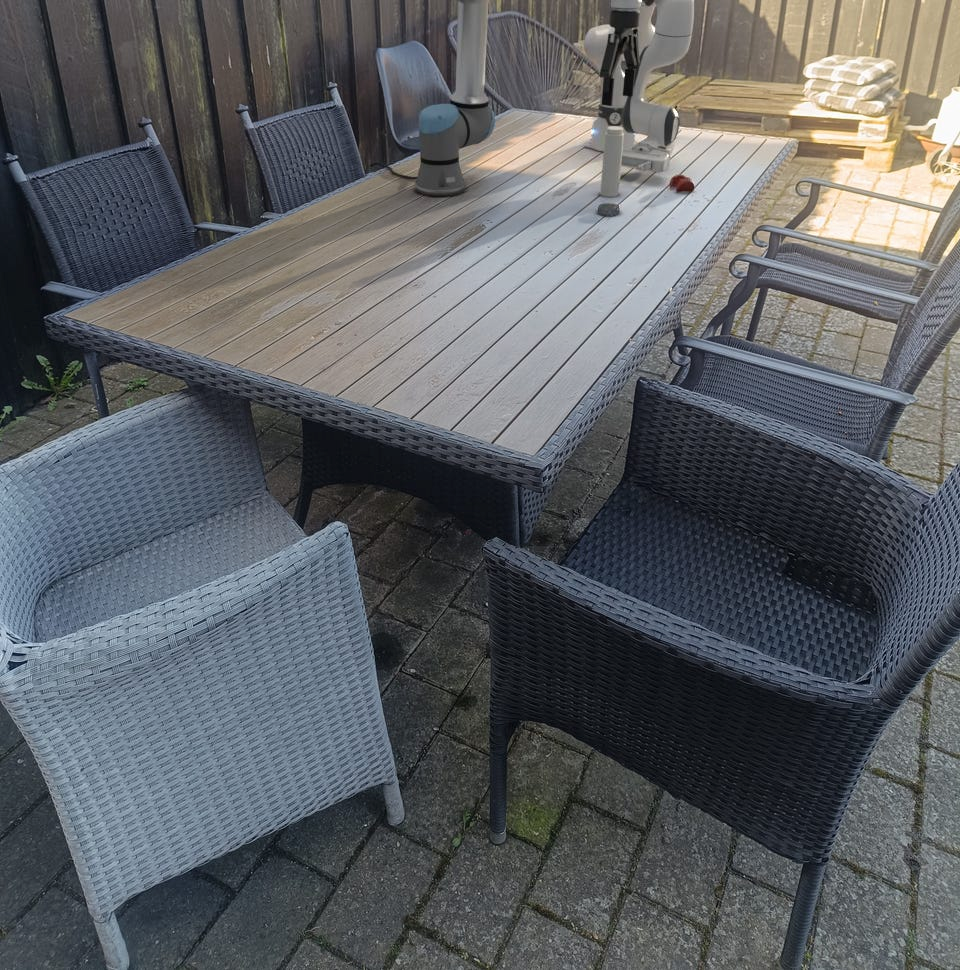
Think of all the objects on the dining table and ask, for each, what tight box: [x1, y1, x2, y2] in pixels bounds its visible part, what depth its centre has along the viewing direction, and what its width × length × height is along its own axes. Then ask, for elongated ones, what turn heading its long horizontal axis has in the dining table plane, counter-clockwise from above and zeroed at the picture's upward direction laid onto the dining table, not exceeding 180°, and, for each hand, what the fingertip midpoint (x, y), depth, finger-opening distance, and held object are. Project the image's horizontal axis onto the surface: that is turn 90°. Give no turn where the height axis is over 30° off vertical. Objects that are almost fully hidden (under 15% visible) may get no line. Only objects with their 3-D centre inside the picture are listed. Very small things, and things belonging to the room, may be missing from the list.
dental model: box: [668, 174, 695, 193], centre depth 257 cm, size 6×4×8 cm
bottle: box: [599, 126, 624, 198], centre depth 249 cm, size 6×6×19 cm
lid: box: [597, 202, 621, 217], centre depth 240 cm, size 6×6×2 cm
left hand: (617, 100), depth 223 cm, fingers open, 13 cm apart
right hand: (625, 165), depth 259 cm, fingers open, 8 cm apart
